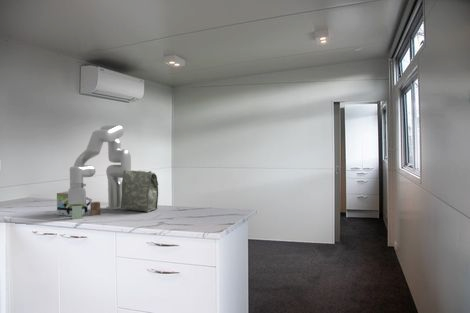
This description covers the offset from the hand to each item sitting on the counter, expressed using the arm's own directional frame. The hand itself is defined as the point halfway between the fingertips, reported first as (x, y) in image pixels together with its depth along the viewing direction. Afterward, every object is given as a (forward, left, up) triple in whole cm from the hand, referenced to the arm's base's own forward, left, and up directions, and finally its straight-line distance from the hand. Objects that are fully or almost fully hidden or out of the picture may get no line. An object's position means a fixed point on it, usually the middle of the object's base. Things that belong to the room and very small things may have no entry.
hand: (77, 213), depth 211 cm
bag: (-38, -14, -2) cm, 41 cm away
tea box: (+5, -14, -3) cm, 15 cm away
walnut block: (-10, -8, -3) cm, 13 cm away
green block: (0, 0, -3) cm, 3 cm away
